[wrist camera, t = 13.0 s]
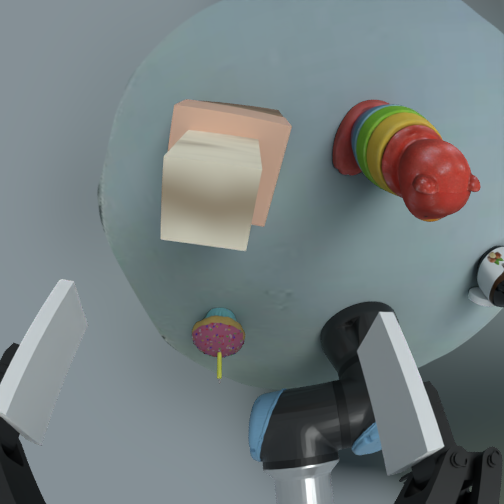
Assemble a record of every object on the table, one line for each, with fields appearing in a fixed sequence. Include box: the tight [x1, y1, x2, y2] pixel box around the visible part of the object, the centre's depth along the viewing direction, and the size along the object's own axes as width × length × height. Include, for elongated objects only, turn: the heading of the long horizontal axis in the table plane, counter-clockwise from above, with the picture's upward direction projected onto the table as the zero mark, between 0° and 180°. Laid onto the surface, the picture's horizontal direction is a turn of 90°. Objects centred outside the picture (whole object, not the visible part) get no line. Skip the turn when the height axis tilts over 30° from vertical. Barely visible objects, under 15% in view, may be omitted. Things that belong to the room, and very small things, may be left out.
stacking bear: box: [333, 100, 480, 222], centre depth 25 cm, size 11×10×18 cm
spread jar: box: [468, 246, 504, 307], centre depth 40 cm, size 12×11×12 cm
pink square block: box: [168, 99, 292, 227], centre depth 28 cm, size 10×10×5 cm
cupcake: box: [192, 308, 245, 384], centre depth 45 cm, size 9×8×12 cm
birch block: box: [161, 130, 262, 251], centre depth 22 cm, size 6×6×8 cm
